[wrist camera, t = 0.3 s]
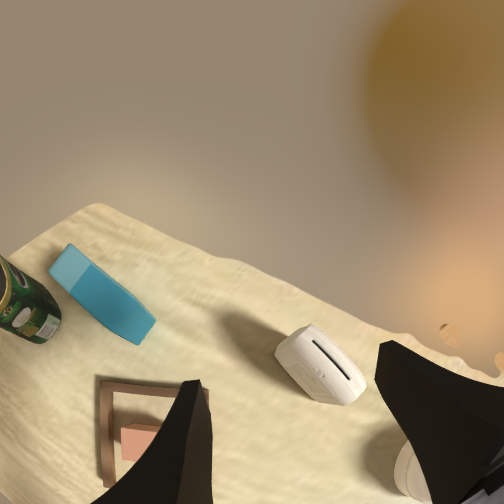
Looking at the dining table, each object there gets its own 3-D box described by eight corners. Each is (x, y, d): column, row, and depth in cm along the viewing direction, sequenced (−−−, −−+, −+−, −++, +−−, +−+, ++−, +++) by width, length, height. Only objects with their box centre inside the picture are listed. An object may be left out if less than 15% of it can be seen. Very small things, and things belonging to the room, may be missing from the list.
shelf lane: (211, 495, 30) (210, 500, 29) (108, 483, 29) (103, 486, 27) (208, 389, 37) (207, 389, 35) (105, 381, 36) (100, 380, 34)
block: (178, 456, 33) (171, 466, 28) (134, 451, 32) (122, 459, 27) (177, 427, 34) (170, 433, 29) (133, 423, 34) (120, 427, 29)
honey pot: (465, 451, 33) (543, 455, 17) (417, 509, 29) (489, 536, 13) (433, 408, 37) (517, 402, 21) (379, 469, 33) (455, 497, 17)
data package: (82, 298, 40) (43, 267, 30) (99, 275, 42) (65, 238, 31) (140, 347, 38) (110, 331, 28) (159, 321, 40) (136, 296, 29)
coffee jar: (12, 310, 38) (-62, 266, 21) (40, 277, 41) (-27, 220, 24) (40, 354, 36) (-43, 325, 19) (71, 319, 39) (-5, 273, 22)
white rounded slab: (339, 385, 38) (381, 382, 27) (317, 407, 37) (353, 412, 26) (291, 333, 41) (316, 311, 30) (268, 353, 40) (285, 339, 29)
